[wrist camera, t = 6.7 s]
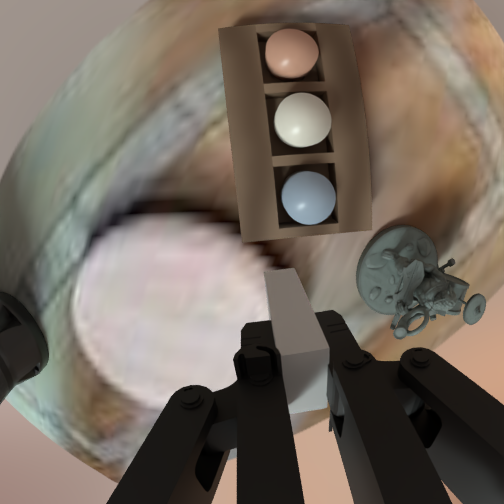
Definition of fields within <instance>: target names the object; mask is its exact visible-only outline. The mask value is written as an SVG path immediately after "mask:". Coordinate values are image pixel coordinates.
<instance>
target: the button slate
mask: <svg viewBox="0 0 504 504" xmlns="http://www.w3.org/2000/svg"><path fill="white" fill-rule="evenodd" d="M280 198H281V202H282V204H283V206H284V208H285V209H286V211H287V212H288V214H289V215H290V216H291V217H292V218H293V219H294V220H295V221H297V222H299V223H302V224H308V225H312V224H317V223H319V222H322V221H323V220H325V219H326V218H327V217H328V216H329V215H330V214H331V212H332V211H333V208H334V206H335V201H336V196H335V190H334V188H333V186H332V184H331V182H330V181H329V180H328V179H327V178H326V177H324V176H323V175H321V174H319V173H316V172H310V171H297V172H295V173H292V174H291V175H289V176H288V177H287V178H286V179H285V181H284V182H283V184H282V187H281V190H280Z"/></svg>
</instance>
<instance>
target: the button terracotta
mask: <svg viewBox="0 0 504 504" xmlns="http://www.w3.org/2000/svg"><path fill="white" fill-rule="evenodd" d="M318 54H319V52H318V46H317V44H316V42H315V41H314V40H313V38H312V37H311V36H309V35H308V34H307V33H305V32H303V31H300V30H297V29H283V30H279V31H277V32H275V33H274V34H273V35H271V36H270V38H269V39H268V41H267V44H266V52H265V65H266V67H267V69H268V71H269V72H270V73H271V74H272V75H273V76H275V77H276V78H278V79H281V80H284V81H297V80H300V79H302V78H304V77H305V76H306V75H307V74H308V73H309V72H310V70H311V69H312V67H313V66H314V64H315V63H316V61H317V59H318Z"/></svg>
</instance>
